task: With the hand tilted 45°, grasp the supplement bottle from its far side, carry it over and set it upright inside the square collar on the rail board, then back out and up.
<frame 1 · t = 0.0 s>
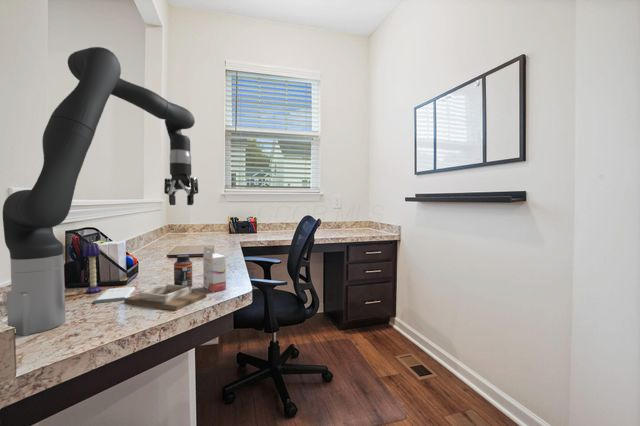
hand: (181, 205, 112), 29 cm above the table, tool pointing down, fingers open, 8 cm apart
ink cartridge box: (214, 288, 102), on the table
toy lamp: (92, 293, 98), on the table
external hard drive: (116, 298, 94), on the table
supplement bottle: (183, 287, 104), on the table
rail board: (166, 299, 90), on the table
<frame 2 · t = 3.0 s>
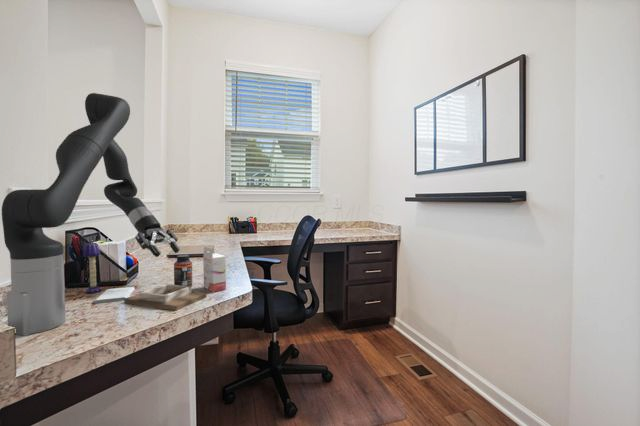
hand: (168, 253, 106), 12 cm above the table, tool tilted 45°, fingers open, 8 cm apart
nothing on the table moved.
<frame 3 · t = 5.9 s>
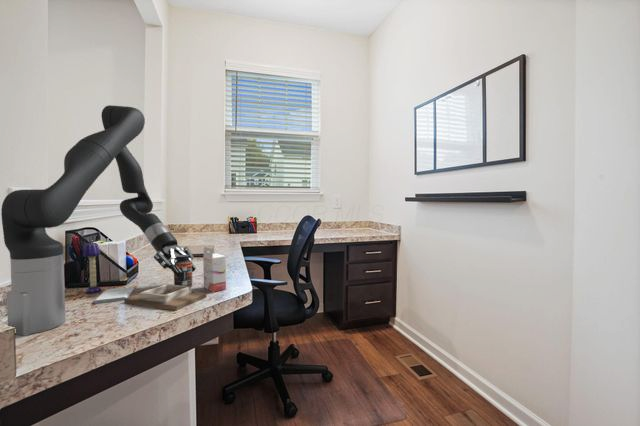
hand: (187, 272, 104), 5 cm above the table, tool tilted 45°, fingers closed on supplement bottle, 6 cm apart
supplement bottle: (183, 287, 104), on the table, touching gripper
everything else where it was.
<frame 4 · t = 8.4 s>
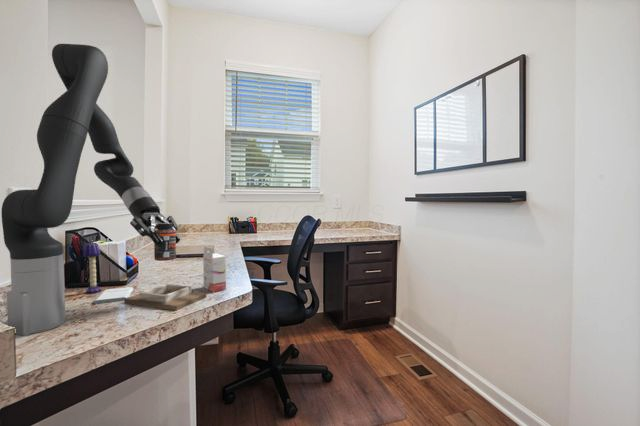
hand: (169, 242, 89), 18 cm above the table, tool tilted 45°, fingers closed on supplement bottle, 6 cm apart
supplement bottle: (165, 260, 90), point 12 cm above the table, touching gripper
everything else where it was.
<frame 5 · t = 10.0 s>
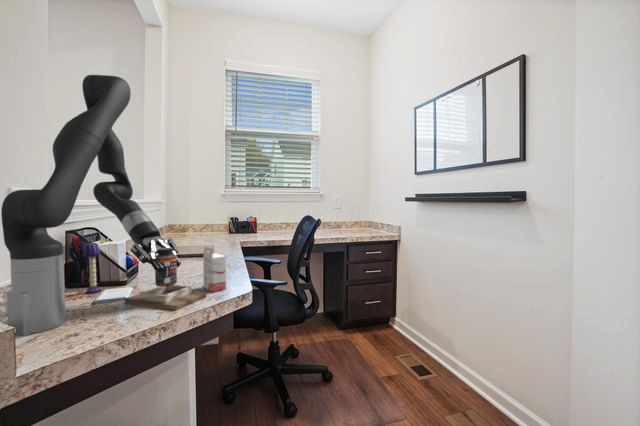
hand: (170, 267, 89), 10 cm above the table, tool tilted 45°, fingers closed on supplement bottle, 6 cm apart
supplement bottle: (166, 285, 90), point 5 cm above the table, touching gripper
everything else where it was.
when the fingers open (8 cm above the table, at t = 11.4 s): supplement bottle drops 1 cm, resting on rail board.
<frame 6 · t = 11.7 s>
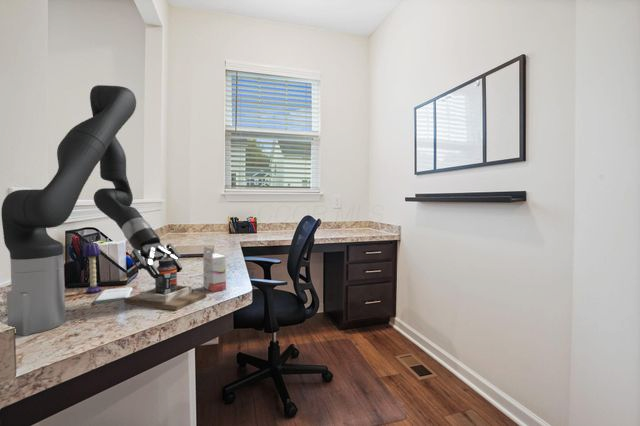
hand: (169, 273, 89), 8 cm above the table, tool tilted 45°, fingers open, 8 cm apart
supplement bottle: (166, 296, 90), point 1 cm above the table, touching rail board
everything else where it was.
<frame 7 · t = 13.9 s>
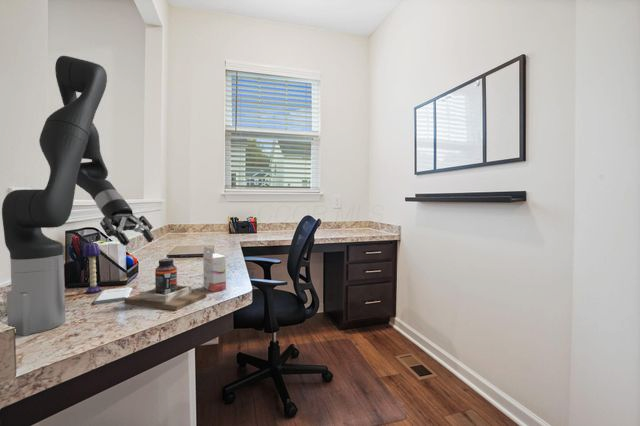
hand: (139, 242, 93), 18 cm above the table, tool tilted 45°, fingers open, 8 cm apart
nothing on the table moved.
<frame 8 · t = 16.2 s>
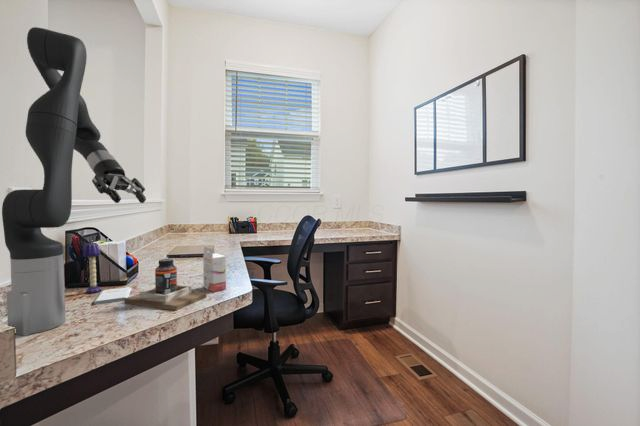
hand: (131, 201, 93), 31 cm above the table, tool tilted 45°, fingers open, 8 cm apart
nothing on the table moved.
at the end: supplement bottle 0.3 cm off-centre on the rail board, point 1.0 cm above the rail board's base; supplement bottle tilted 0°; the gripper is holding nothing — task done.
